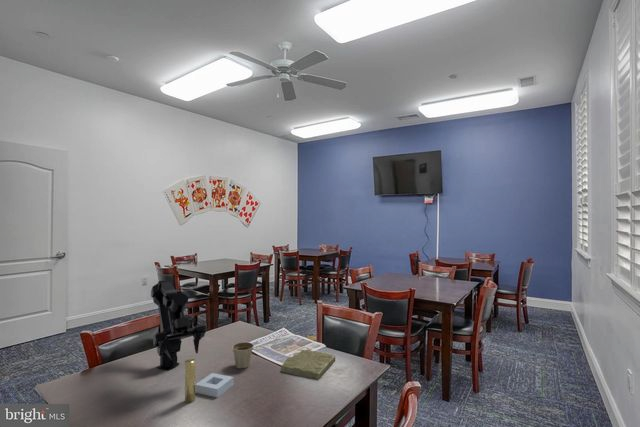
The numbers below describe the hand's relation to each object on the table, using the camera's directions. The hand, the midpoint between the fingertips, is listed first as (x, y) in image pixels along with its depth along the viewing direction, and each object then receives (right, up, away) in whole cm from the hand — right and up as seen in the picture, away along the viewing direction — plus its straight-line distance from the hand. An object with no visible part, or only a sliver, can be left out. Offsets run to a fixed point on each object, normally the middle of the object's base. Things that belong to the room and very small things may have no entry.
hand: (184, 356), depth 128 cm
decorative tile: (+46, -14, +22) cm, 53 cm away
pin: (+4, -13, -6) cm, 15 cm away
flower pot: (+17, -14, +22) cm, 31 cm away
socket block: (+11, -13, +2) cm, 17 cm away
